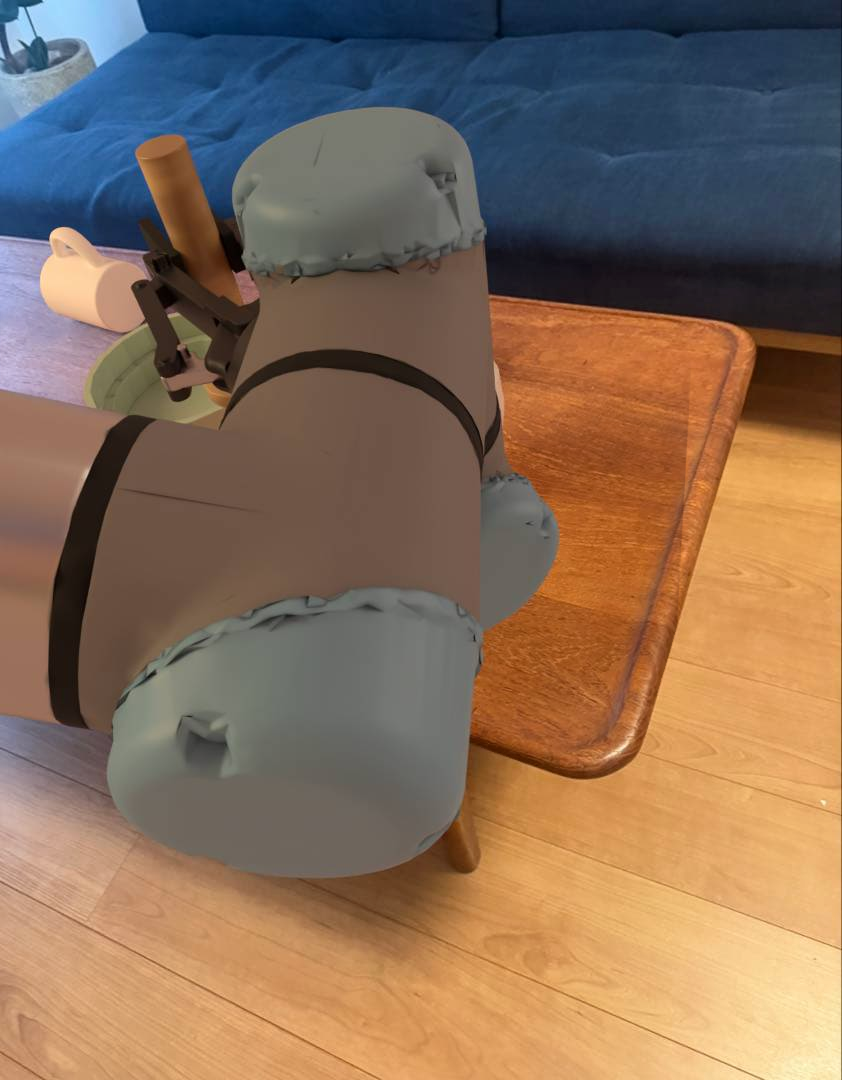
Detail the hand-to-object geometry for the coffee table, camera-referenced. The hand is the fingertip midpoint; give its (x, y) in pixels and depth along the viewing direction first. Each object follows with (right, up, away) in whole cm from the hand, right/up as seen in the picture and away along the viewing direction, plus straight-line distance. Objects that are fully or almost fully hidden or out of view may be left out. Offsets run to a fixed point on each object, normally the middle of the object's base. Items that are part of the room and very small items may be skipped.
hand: (175, 227), depth 56 cm
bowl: (-7, -8, +32) cm, 33 cm away
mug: (-22, +6, +47) cm, 53 cm away
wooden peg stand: (+4, -10, +4) cm, 11 cm away
